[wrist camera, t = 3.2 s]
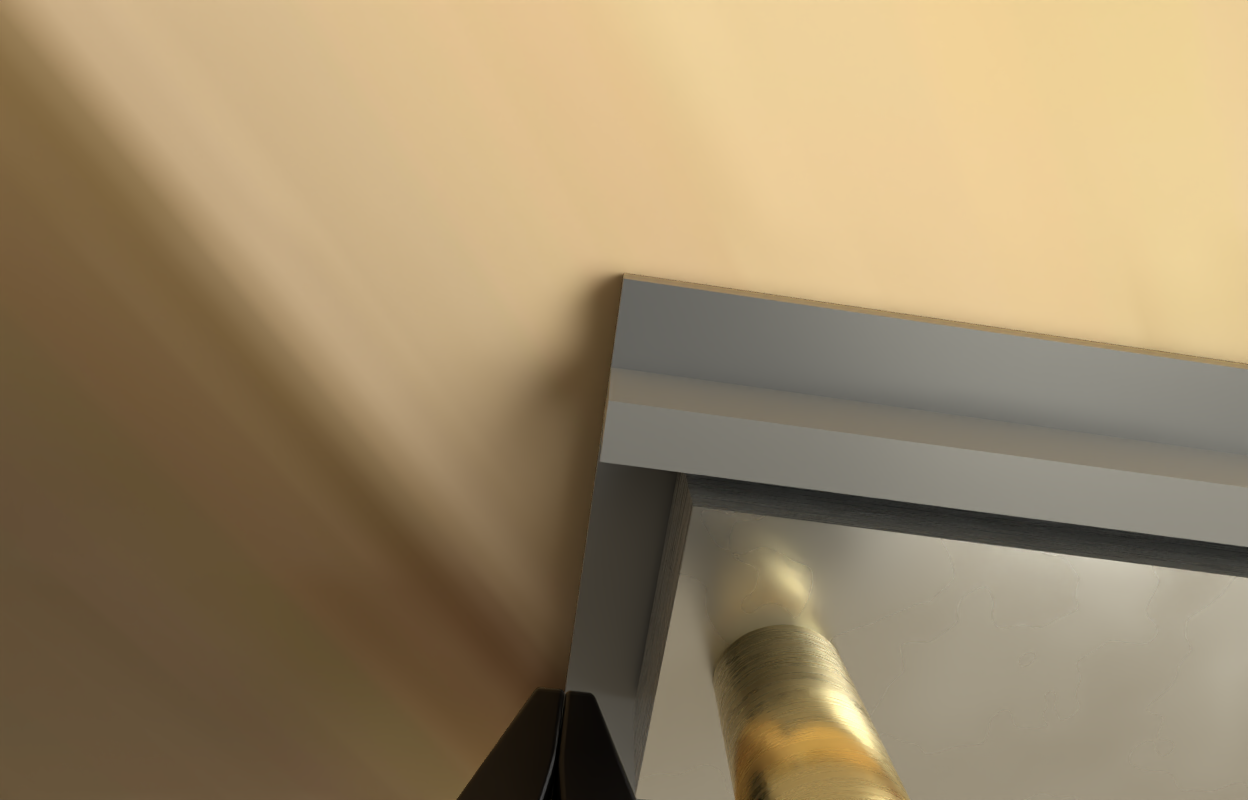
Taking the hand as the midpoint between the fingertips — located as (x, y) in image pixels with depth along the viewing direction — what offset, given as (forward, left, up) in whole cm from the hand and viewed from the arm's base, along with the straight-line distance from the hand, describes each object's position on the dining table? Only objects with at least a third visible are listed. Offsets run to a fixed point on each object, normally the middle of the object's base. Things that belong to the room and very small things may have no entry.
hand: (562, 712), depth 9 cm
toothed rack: (-1, -11, -3) cm, 11 cm away
